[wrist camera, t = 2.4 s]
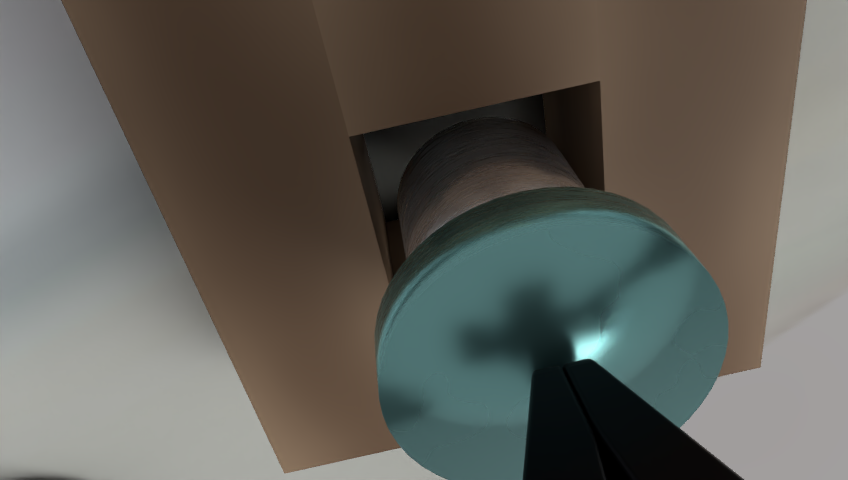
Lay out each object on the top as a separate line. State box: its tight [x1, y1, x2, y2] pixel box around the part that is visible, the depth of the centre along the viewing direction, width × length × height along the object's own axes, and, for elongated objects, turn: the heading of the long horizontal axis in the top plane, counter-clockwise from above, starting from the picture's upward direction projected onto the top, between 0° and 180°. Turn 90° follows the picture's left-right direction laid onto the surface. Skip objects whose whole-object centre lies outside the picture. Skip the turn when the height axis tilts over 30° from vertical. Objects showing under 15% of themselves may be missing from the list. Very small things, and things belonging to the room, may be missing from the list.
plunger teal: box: [374, 117, 728, 480], centre depth 12 cm, size 5×5×5 cm
